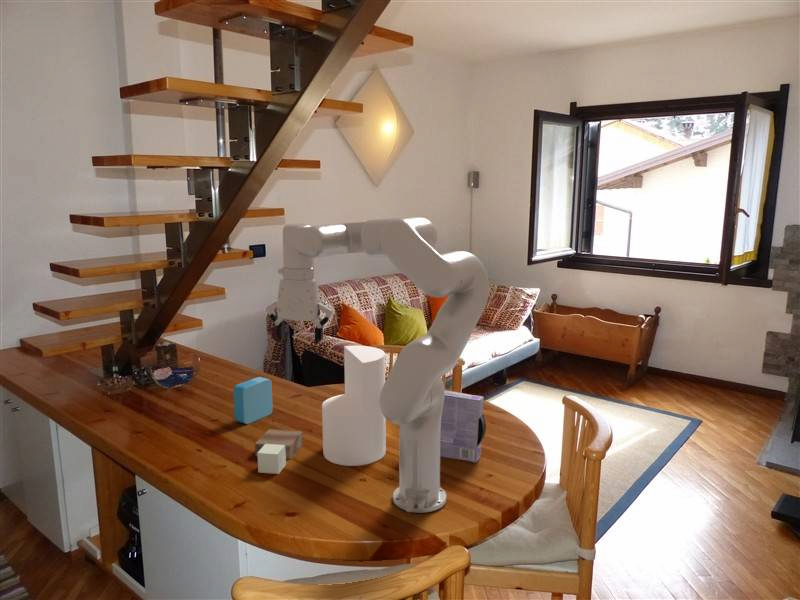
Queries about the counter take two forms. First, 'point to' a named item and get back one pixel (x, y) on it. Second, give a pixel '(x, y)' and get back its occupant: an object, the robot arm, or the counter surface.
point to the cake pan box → (462, 426)
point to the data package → (253, 400)
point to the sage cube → (271, 458)
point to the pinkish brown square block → (281, 440)
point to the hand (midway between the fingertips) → (299, 340)
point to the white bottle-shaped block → (356, 411)
